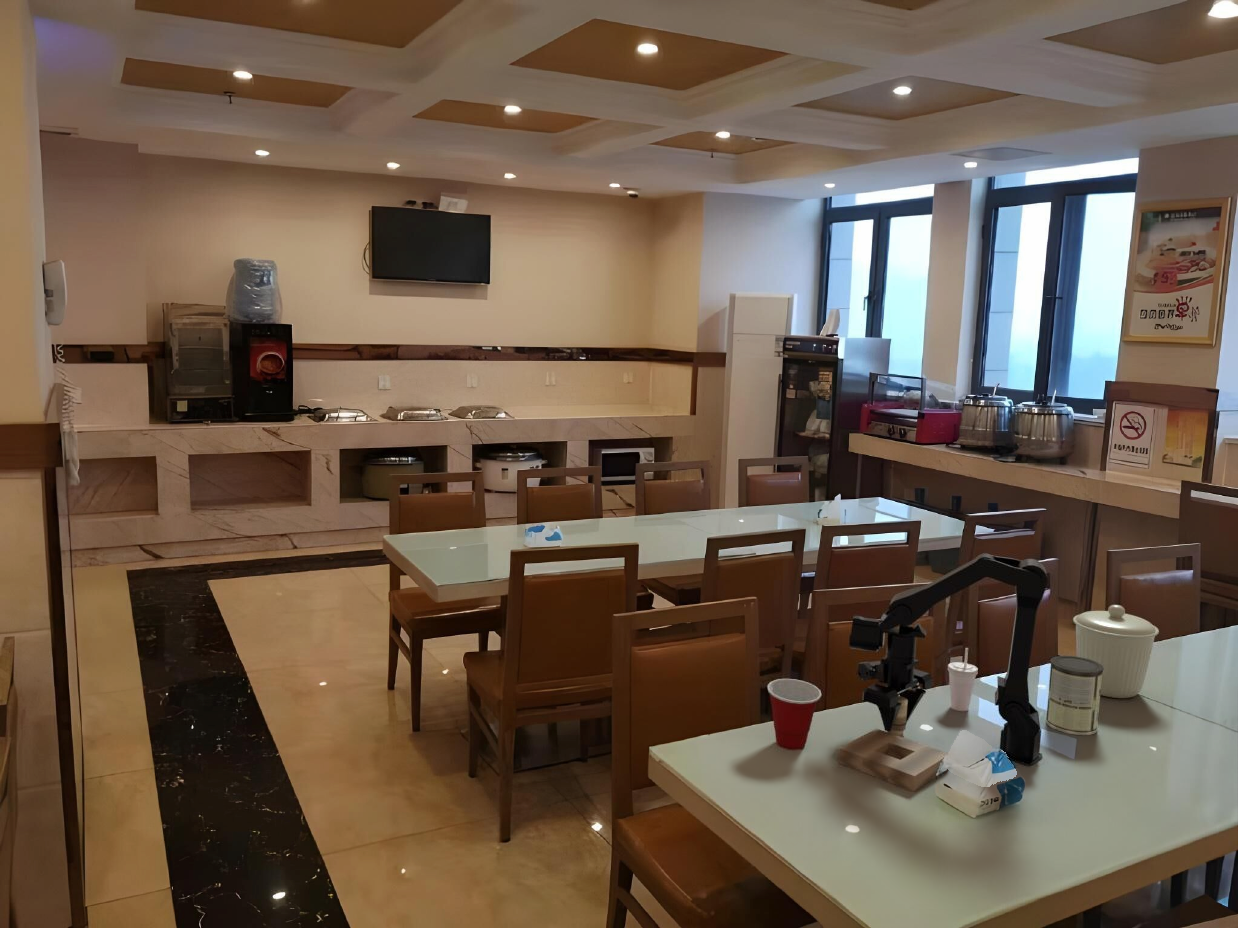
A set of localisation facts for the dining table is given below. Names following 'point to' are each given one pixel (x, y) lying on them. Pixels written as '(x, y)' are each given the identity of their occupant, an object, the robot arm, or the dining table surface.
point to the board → (892, 759)
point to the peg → (900, 718)
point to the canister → (1116, 648)
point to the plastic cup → (792, 711)
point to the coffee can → (1074, 695)
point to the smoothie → (961, 683)
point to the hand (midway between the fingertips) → (895, 726)
